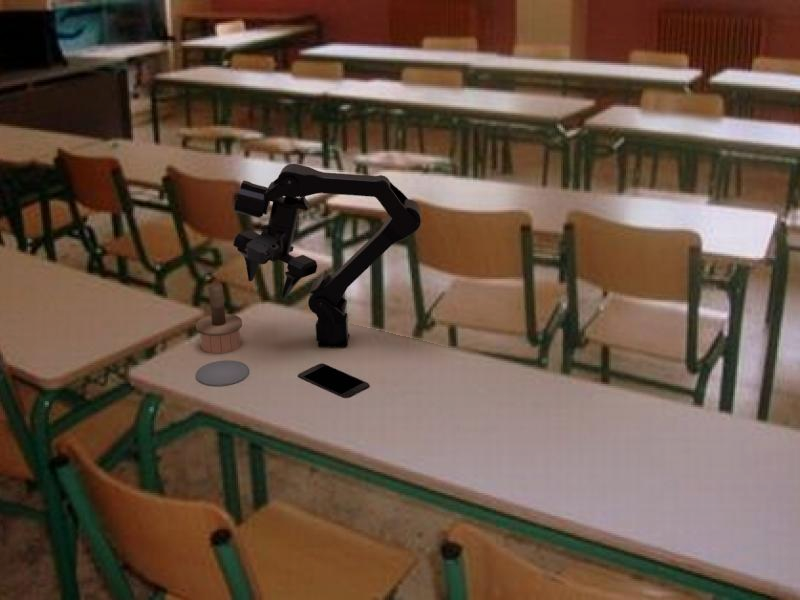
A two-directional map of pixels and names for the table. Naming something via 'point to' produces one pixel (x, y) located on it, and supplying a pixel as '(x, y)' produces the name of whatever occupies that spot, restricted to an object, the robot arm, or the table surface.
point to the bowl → (220, 342)
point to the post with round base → (218, 316)
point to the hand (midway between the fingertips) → (267, 289)
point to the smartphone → (334, 380)
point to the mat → (222, 373)
